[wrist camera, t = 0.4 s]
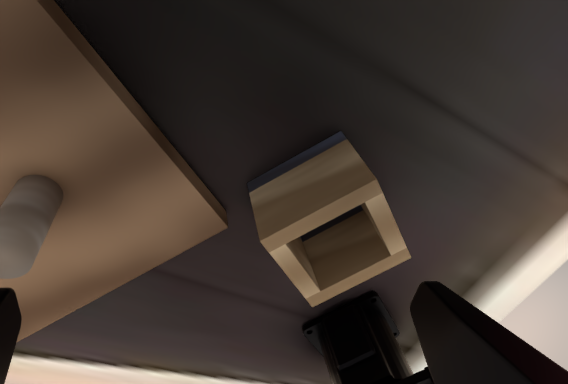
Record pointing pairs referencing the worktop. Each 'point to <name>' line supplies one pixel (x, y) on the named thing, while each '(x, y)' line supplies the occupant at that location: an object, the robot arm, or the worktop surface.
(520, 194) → the worktop surface
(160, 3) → the worktop surface
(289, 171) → the sleeve
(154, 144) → the pin board
